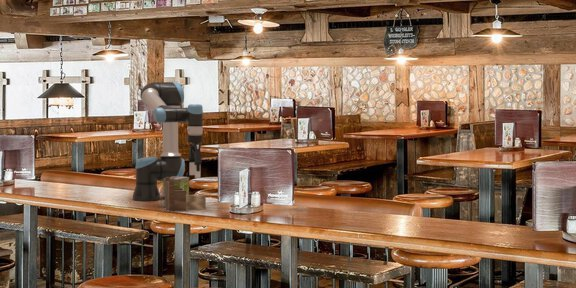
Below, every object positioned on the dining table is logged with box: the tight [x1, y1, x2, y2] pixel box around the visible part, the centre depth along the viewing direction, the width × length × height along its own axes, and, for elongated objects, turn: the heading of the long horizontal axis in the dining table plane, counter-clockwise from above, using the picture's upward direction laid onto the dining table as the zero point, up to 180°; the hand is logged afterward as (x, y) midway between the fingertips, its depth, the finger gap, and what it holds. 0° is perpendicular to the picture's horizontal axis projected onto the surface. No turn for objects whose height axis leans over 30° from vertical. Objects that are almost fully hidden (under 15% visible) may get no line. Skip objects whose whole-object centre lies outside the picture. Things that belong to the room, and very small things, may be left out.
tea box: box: [161, 176, 190, 207], centre depth 466 cm, size 15×10×15 cm
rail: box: [186, 193, 207, 211], centre depth 452 cm, size 16×5×7 cm, turn 108°
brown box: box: [164, 177, 187, 212], centre depth 450 cm, size 14×8×16 cm, turn 18°
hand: (194, 176), depth 452 cm, fingers open, 13 cm apart
